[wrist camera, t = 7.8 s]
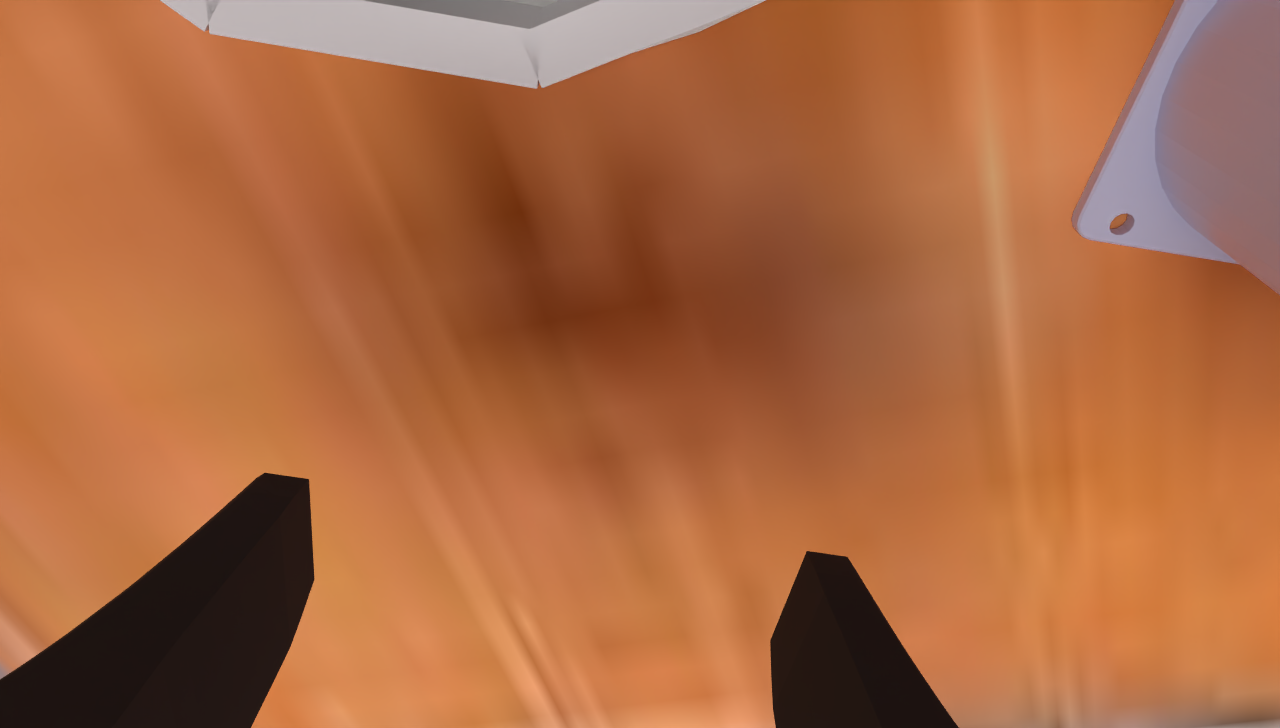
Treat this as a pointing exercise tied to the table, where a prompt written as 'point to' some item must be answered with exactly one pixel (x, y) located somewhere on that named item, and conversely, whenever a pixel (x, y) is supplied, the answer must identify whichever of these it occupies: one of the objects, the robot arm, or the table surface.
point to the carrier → (466, 31)
